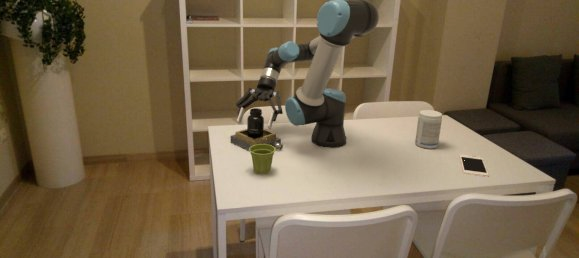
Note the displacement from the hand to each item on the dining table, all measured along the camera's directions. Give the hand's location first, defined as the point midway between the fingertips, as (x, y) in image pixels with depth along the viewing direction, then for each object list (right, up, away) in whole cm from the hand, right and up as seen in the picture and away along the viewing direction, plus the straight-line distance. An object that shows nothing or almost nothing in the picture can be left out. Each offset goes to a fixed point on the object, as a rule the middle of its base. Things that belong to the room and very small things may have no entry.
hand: (253, 125), depth 177 cm
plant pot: (+5, -17, -19) cm, 26 cm away
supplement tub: (+74, -9, +11) cm, 75 cm away
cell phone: (+87, -16, -7) cm, 88 cm away
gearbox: (+2, -8, +4) cm, 9 cm away
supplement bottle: (0, -5, +4) cm, 7 cm away
